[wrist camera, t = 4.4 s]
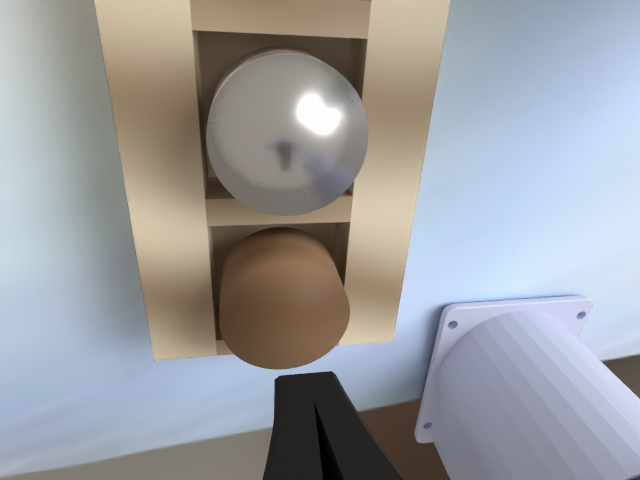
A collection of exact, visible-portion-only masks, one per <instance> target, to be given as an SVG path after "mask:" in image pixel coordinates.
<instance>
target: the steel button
mask: <svg viewBox="0 0 640 480" xmlns="http://www.w3.org/2000/svg"><path fill="white" fill-rule="evenodd" d="M368 137H369V130H368V121H367V116H366V112H365V109H364V106H363V104H362V101H361V99H360V97H359V95H358V93H357V92H356V90H355V89H354V88H353V86H352V85H351V83H350V82H349V81H348V80H347V79H346V78H345V77H344V76H343V75H342V74H340V73H339V72H338V71H337V70H335V69H334V68H333V67H331V66H329V65H328V64H326V63H324V62H323V61H321V60H320V59H318V58H316V57H315V56H313V55H311V54H309V53H307V52H305V51H303V50H300V49H296V48H293V47H286V46H270V47H264V48H260V49H257V50H254V51H252V52H250V53H248V54H246V55H244V56H243V57H241V58H240V59H238V60H237V61H236V62H235V63H233V64H232V65H231V66H230V67H229V68H228V70H227V71H226V72H225V73H224V74H223V76H222V78H221V79H220V81H219V83H218V85H217V87H216V90H215V92H214V96H213V99H212V103H211V108H210V113H209V117H208V123H207V130H206V143H207V150H208V155H209V158H210V162H211V165H212V167H213V169H214V172H215V174H216V175H217V177H218V179H219V180H220V182H221V183H222V184H223V186H224V187H225V188H226V190H227V191H228V192H230V193H231V194H232V195H233V196H234V197H235V198H236V199H237V200H239V201H240V202H241V203H243V204H245V205H247V206H248V207H250V208H252V209H255V210H257V211H259V212H263V213H266V214H270V215H277V216H296V215H302V214H307V213H310V212H313V211H316V210H319V209H321V208H323V207H325V206H327V205H328V204H330V203H332V202H333V201H335V200H336V199H337V198H338V197H340V196H341V195H342V194H343V193H344V192H345V191H346V190H347V189H348V188H349V187H350V185H351V184H352V183H353V181H354V180H355V178H356V177H357V175H358V173H359V172H360V170H361V167H362V165H363V163H364V160H365V156H366V153H367V147H368Z"/></svg>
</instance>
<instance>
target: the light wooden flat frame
mask: <svg viewBox="0 0 640 480" xmlns="http://www.w3.org/2000/svg"><path fill="white" fill-rule="evenodd" d="M450 1H451V0H94V3H95V9H96V15H97V21H98V27H99V33H100V39H101V45H102V51H103V57H104V63H105V69H106V75H107V81H108V87H109V93H110V99H111V105H112V111H113V117H114V123H115V129H116V135H117V141H118V147H119V153H120V159H121V165H122V171H123V177H124V183H125V189H126V195H127V201H128V207H129V213H130V219H131V225H132V231H133V237H134V243H135V249H136V255H137V261H138V267H139V273H140V279H141V285H142V291H143V297H144V303H145V309H146V315H147V321H148V327H149V333H150V339H151V345H152V351H153V357H154V361H155V360H167V359H179V358H191V357H204V356H216V355H228V354H234V353H233V352H232V351H231V350H230V349H229V348H228V347H227V345H226V344H225V342H224V340H223V338H222V335H221V332H220V326H219V315H220V292H221V273H222V267H223V264H224V261H225V259H226V258H227V256H228V254H229V253H230V251H231V250H232V249H233V248H234V247H235V245H236V244H237V243H239V242H240V241H241V240H242V239H244V238H245V237H247V236H249V235H251V234H253V233H255V232H257V231H260V230H263V229H267V228H273V227H290V228H296V229H300V230H303V231H305V232H308V233H310V234H311V235H313V236H315V237H316V238H317V239H319V240H320V241H321V242H322V243H323V244H324V245H325V246H326V248H327V249H328V251H329V252H330V254H331V256H332V259H333V261H334V264H335V266H336V269H337V272H338V274H339V277H340V279H341V282H342V284H343V287H344V289H345V292H346V294H347V297H348V300H349V305H350V318H349V323H348V326H347V329H346V331H345V333H344V335H343V337H342V338H341V339H340V341H339V342H338V343H337V344H336V346H339V345H352V344H364V343H376V342H388V341H393V338H394V332H395V326H396V320H397V314H398V308H399V302H400V297H401V291H402V285H403V279H404V273H405V267H406V261H407V255H408V249H409V243H410V237H411V231H412V226H413V220H414V214H415V208H416V202H417V196H418V190H419V184H420V178H421V172H422V166H423V161H424V155H425V149H426V143H427V137H428V131H429V125H430V119H431V113H432V107H433V101H434V96H435V90H436V84H437V78H438V72H439V66H440V60H441V54H442V48H443V42H444V36H445V30H446V25H447V19H448V13H449V7H450ZM270 46H286V47H293V48H296V49H300V50H303V51H305V52H307V53H309V54H311V55H313V56H315V57H316V58H318V59H320V60H321V61H323V62H324V63H326V64H328V65H329V66H331V67H333V68H334V69H335V70H337V71H338V72H339V73H340V74H342V75H343V76H344V77H345V78H346V79H347V80H348V81H349V82H350V83H351V85H352V86H353V88H354V89H355V90H356V92H357V93H358V95H359V97H360V99H361V101H362V104H363V106H364V109H365V112H366V116H367V121H368V130H369V137H368V147H367V153H366V156H365V160H364V163H363V165H362V167H361V170H360V172H359V173H358V175H357V177H356V178H355V180H354V181H353V183H352V184H351V185H350V187H349V188H348V189H347V190H346V191H345V192H344V193H343V194H342V195H341V196H340V197H338V198H337V199H336V200H335V201H333V202H332V203H330V204H328V205H327V206H325V207H323V208H321V209H319V210H316V211H313V212H310V213H307V214H302V215H296V216H277V215H270V214H266V213H263V212H259V211H257V210H255V209H252V208H250V207H248V206H247V205H245V204H243V203H241V202H240V201H239V200H237V199H236V198H235V197H234V196H233V195H232V194H231V193H230V192H228V191H227V190H226V188H225V187H224V186H223V184H222V183H221V182H220V180H219V179H218V177H217V175H216V174H215V172H214V169H213V167H212V165H211V162H210V158H209V155H208V150H207V143H206V130H207V123H208V117H209V113H210V108H211V103H212V99H213V96H214V92H215V90H216V87H217V85H218V83H219V81H220V79H221V78H222V76H223V74H224V73H225V72H226V71H227V70H228V68H229V67H230V66H231V65H232V64H233V63H235V62H236V61H237V60H238V59H240V58H241V57H243V56H244V55H246V54H248V53H250V52H252V51H254V50H257V49H260V48H264V47H270Z"/></svg>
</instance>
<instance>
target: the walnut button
mask: <svg viewBox="0 0 640 480" xmlns="http://www.w3.org/2000/svg"><path fill="white" fill-rule="evenodd" d="M349 318H350V305H349V300H348V297H347V294H346V292H345V289H344V287H343V284H342V282H341V279H340V277H339V274H338V272H337V269H336V266H335V264H334V261H333V259H332V256H331V254H330V252H329V251H328V249H327V248H326V246H325V245H324V244H323V243H322V242H321V241H320V240H319V239H317V238H316V237H315V236H313V235H311V234H310V233H308V232H305V231H303V230H300V229H296V228H290V227H273V228H267V229H263V230H260V231H257V232H255V233H253V234H251V235H249V236H247V237H245V238H244V239H242V240H241V241H240V242H239V243H237V244H236V245H235V247H234V248H233V249H232V250H231V251H230V253H229V254H228V256H227V258H226V259H225V261H224V264H223V267H222V273H221V292H220V315H219V326H220V332H221V335H222V338H223V340H224V342H225V344H226V345H227V347H228V348H229V349H230V350H231V351H232V352H233V353H234V354H235V355H236V356H237V357H239V358H240V359H241V360H243V361H245V362H247V363H249V364H252V365H254V366H258V367H261V368H267V369H289V368H295V367H300V366H303V365H306V364H309V363H311V362H313V361H315V360H317V359H319V358H321V357H322V356H324V355H325V354H327V353H328V352H329V351H330V350H331V349H333V348H334V347H335V346H336V344H337V343H338V342H339V341H340V339H341V338H342V337H343V335H344V333H345V331H346V329H347V326H348V323H349Z"/></svg>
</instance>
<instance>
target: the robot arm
mask: <svg viewBox="0 0 640 480" xmlns="http://www.w3.org/2000/svg"><path fill="white" fill-rule="evenodd" d="M592 306H593V301H592V300H591V299H590V298H588V297H587V296H585V295H579V296H564V297H549V298H534V299H519V300H504V301H489V302H474V303H459V304H451V305H448V306H447V307H445V308H444V309H443V311H442V314H441V318H440V323H439V327H438V332H437V336H436V340H435V345H434V349H433V354H432V358H431V362H430V367H429V371H428V375H427V380H426V384H425V389H424V393H423V397H422V402H421V406H420V411H419V415H418V420H417V424H416V428H415V433H414V436H415V438H416V441H417V442H419V443H429V442H434V445H435V447H436V449H437V451H438V453H439V455H440V458H441V460H442V462H443V464H444V466H445V469H446V471H447V473H448V475H449V477H450V479H451V480H640V399H639V398H638V397H637V396H636V395H635V394H634V393H633V392H632V391H631V390H630V389H629V388H628V387H627V386H626V385H624V384H623V383H622V382H621V381H620V380H619V379H618V378H617V377H616V376H615V375H614V374H613V373H612V372H611V371H610V370H609V369H608V368H607V367H606V366H605V365H604V364H602V362H601V361H600V360H599V359H598V358H597V357H596V356H594V355H593V354H592V353H591V352H590V351H589V350H588V349H587V348H586V347H585V346H584V345H583V344H582V343H581V342H580V341H579V340H578V339H579V337H580V335H581V332H582V330H583V328H584V325H585V323H586V321H587V318H588V316H589V314H590V311H591V309H592ZM451 321H453V322H452V323H451V324H449V323H450V322H451ZM263 480H406V479H405V477H404V476H403V475H402V474H401V472H400V471H399V470H398V469H397V467H396V466H395V464H394V463H393V462H392V461H391V459H390V458H389V457H388V455H387V454H386V452H385V451H384V450H383V448H382V447H381V445H380V444H379V443H378V441H377V440H376V438H375V437H374V436H373V434H372V433H371V431H370V430H369V429H368V427H367V426H366V424H365V423H364V421H363V419H362V418H361V416H360V415H359V413H358V412H357V410H356V409H355V407H354V405H353V404H352V402H351V401H350V399H349V397H348V396H347V394H346V392H345V391H344V389H343V387H342V385H341V384H340V382H339V380H338V378H337V376H336V375H335V374H334V373H333V372H332V371H330V372H318V373H306V374H295V375H283V376H279V377H278V378H276V379H275V396H274V423H273V431H272V437H271V442H270V447H269V453H268V458H267V463H266V467H265V472H264V476H263Z"/></svg>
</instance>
